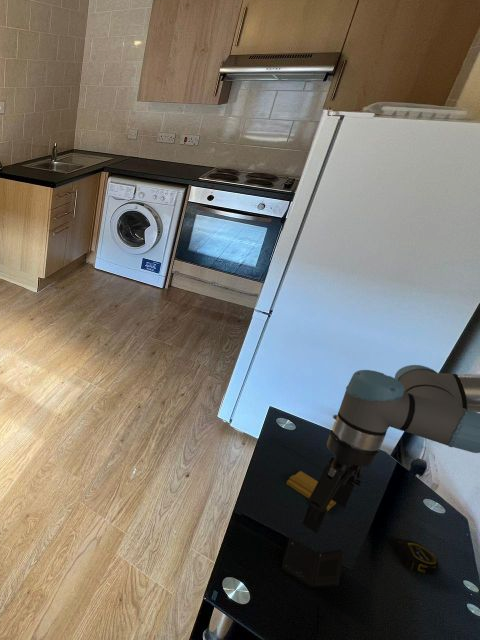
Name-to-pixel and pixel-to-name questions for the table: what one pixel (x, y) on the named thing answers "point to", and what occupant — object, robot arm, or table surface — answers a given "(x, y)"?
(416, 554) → the tape measure
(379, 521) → the table surface
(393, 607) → the table surface
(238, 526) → the table surface
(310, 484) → the block
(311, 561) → the dark brown faceted prism
